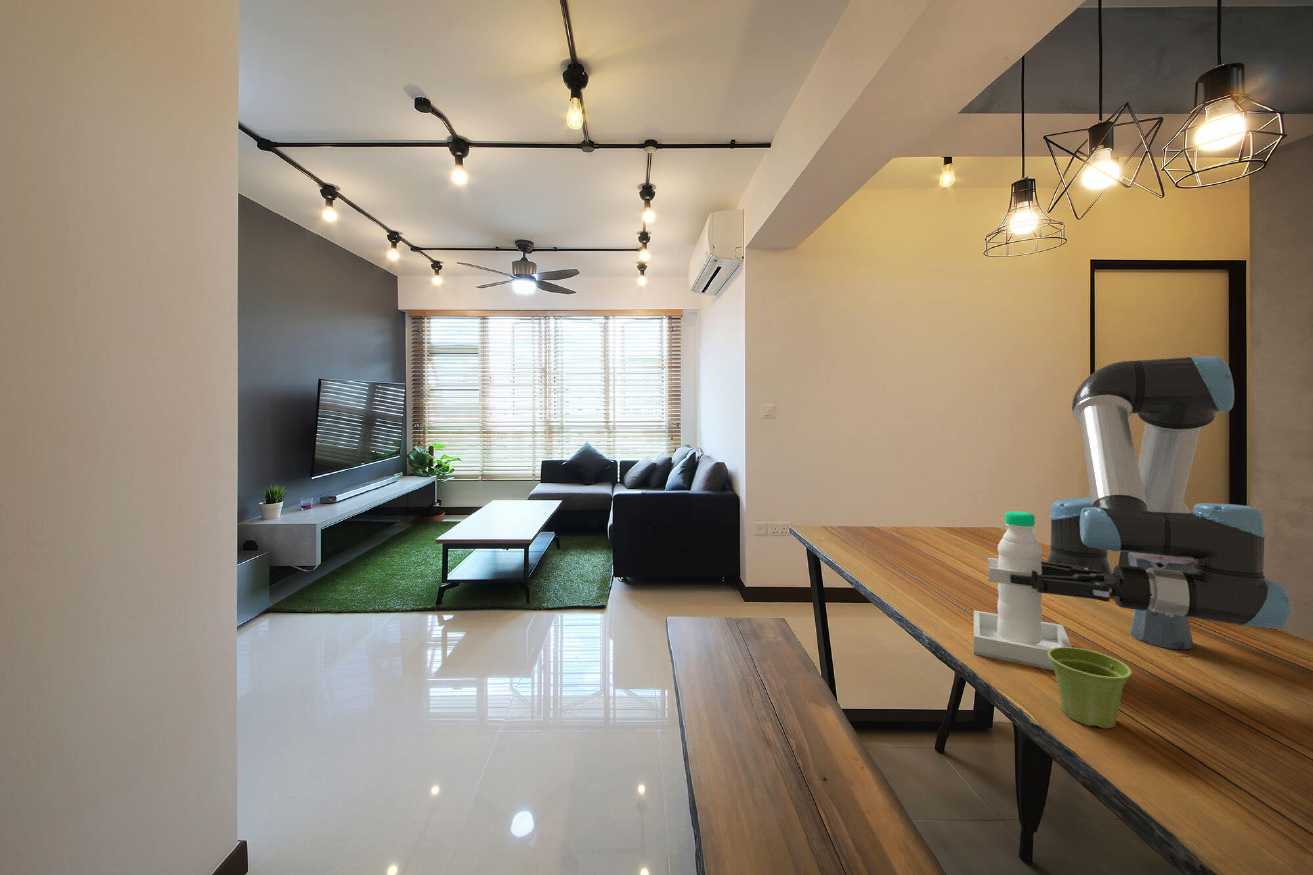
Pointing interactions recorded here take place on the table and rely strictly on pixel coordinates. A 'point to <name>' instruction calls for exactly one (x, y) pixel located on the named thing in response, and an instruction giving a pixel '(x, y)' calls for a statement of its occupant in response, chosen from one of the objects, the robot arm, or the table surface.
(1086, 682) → the plant pot
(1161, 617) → the moka pot
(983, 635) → the white tray
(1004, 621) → the water bottle
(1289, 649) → the table surface
